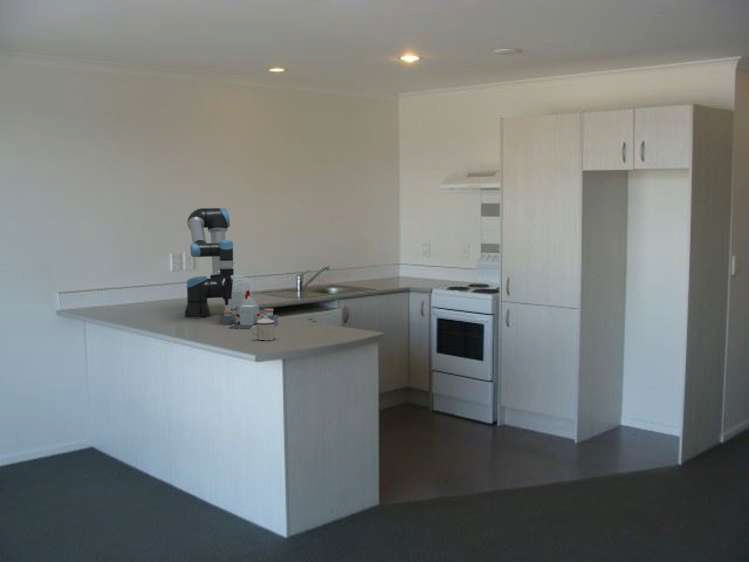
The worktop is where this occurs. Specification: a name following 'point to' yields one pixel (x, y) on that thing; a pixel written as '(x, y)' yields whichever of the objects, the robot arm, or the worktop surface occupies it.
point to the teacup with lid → (265, 329)
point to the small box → (248, 314)
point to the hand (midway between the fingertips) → (227, 310)
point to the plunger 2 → (269, 312)
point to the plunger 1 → (227, 313)
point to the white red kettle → (247, 303)
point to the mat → (242, 326)
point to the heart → (238, 289)
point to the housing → (232, 320)
